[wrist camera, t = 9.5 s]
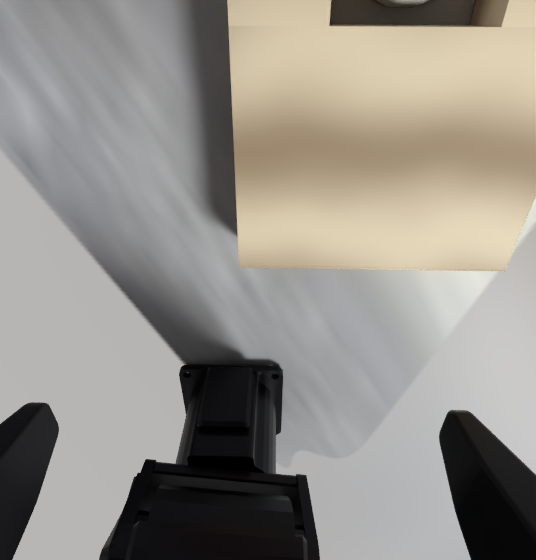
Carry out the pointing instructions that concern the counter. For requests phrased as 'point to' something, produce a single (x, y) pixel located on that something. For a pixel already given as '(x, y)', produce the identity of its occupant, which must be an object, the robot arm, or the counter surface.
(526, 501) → the robot arm
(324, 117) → the socket block
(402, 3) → the rook chess piece
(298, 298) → the counter surface
